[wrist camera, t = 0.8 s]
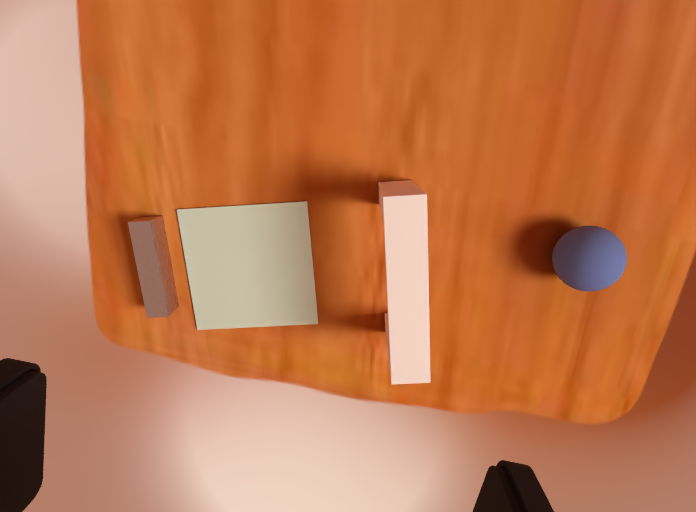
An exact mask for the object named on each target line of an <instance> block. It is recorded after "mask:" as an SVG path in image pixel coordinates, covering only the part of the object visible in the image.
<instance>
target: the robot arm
mask: <svg viewBox="0 0 696 512" xmlns="http://www.w3.org/2000/svg"><path fill="white" fill-rule="evenodd" d="M45 406H46V376H45V374H43V373H41V372H40V368H39V366H38V365H37V364H34V363H29V362H25V361H20V360H15V359H10V358H6V359H3V360H1V361H0V512H22V511H23V510H24V509H25V508H26V507H27V506H28V505H29V504H30V502H31V501H32V500H33V499H34V498H35V496H36V495H37V493H38V491H39V489H40V487H41V484H42V479H43V460H44V434H45ZM473 512H554V511H553V509H552V507H551V505H550V503H549V501H548V499H547V497H546V495H545V493H544V491H543V489H542V487H541V485H540V484H539V482H538V480H537V478H536V476H535V474H534V472H533V470H532V469H531V467H529V466H528V465H524V464H519V463H514V462H509V461H504V460H502V461H500V462H499V463H498V464H497V466H490V467H489V469H488V471H487V474H486V477H485V480H484V482H483V485H482V487H481V490H480V493H479V496H478V498H477V501H476V504H475V507H474V509H473Z"/></svg>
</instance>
